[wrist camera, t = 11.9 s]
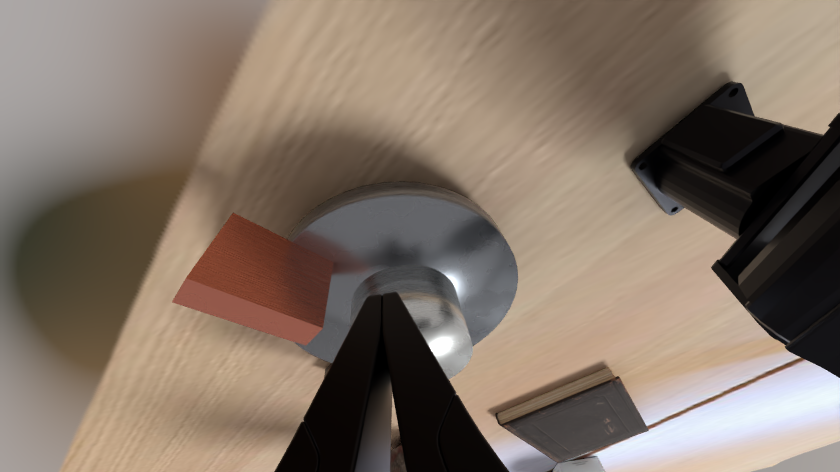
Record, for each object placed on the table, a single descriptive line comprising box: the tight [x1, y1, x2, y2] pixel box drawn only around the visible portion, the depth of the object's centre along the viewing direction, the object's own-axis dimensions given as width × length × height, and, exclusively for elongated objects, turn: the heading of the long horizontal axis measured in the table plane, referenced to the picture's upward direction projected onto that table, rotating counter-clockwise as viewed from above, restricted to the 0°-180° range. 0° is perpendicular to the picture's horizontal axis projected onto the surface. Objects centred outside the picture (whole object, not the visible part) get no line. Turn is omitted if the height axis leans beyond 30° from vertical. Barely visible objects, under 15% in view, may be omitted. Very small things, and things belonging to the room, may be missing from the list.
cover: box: [349, 265, 473, 379], centre depth 18 cm, size 7×7×5 cm
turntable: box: [172, 182, 518, 363], centre depth 19 cm, size 16×16×6 cm
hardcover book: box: [496, 367, 649, 463], centre depth 44 cm, size 16×23×2 cm
